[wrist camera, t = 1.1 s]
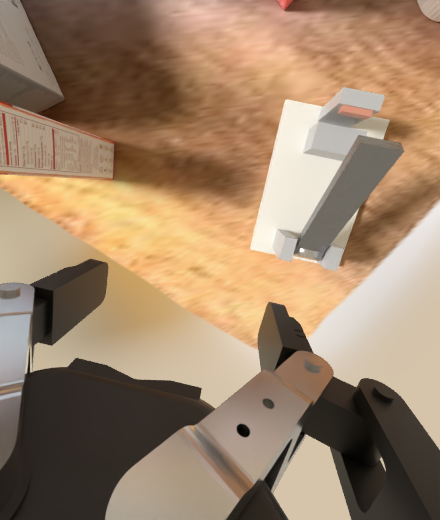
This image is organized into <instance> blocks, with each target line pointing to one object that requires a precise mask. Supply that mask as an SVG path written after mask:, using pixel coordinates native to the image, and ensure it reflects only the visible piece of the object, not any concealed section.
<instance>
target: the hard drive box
mask: <svg viewBox="0 0 440 520" xmlns="http://www.w3.org/2000/svg"><path fill="white" fill-rule="evenodd" d="M0 100H1V101H4V102H6V103H9V104H12V105H14V106H17V107H20V108H22V109H25V110H28V111H30V112H33V113H36V114H37V113H39V112H42V111H44V110H46V109H48V108H50V107H52V106H54V105H56V104H58V103H60V102H62V101H63V100H64V96H63V94H62V92H61V90H60V88H59V85H58V83H57V81H56V78H55V76H54V74H53V72H52V70H51V67H50V65H49V63H48V61H47V59H46V57H45V55H44V52H43V50H42V48H41V46H40V44H39V41H38V39H37V37H36V35H35V33H34V30H33V28H32V26H31V24H30V22H29V20H28V17H27V14H26V12H25V10H24V8H23V6H22V3H21V1H20V0H0Z"/></svg>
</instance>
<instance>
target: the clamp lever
mask: <svg viewBox="0 0 440 520" xmlns="http://www.w3.org/2000/svg"><path fill="white" fill-rule="evenodd" d="M403 152H404V150H403V147H402V145H401V143H398V142H393V141H388V140H383V139H378V138H373V137H367V136H362V135H358V136H357V138H356V140H355V142H354V143H353V145H352V147H351V148H350V150H349V152H348V154H347V155H346V157H345V159H344V160H343V162H342V164H341V165H340V167H339V169H338V171H337V172H336V174H335V176H334V177H333V179H332V181H331V182H330V184H329V186H328V188H327V189H326V191H325V193H324V194H323V196H322V198H321V199H320V201H319V203H318V205H317V206H316V208H315V210H314V211H313V213H312V215H311V216H310V218H309V220H308V222H307V223H306V225H305V227H304V228H303V230H302V232H301V233H300V235H299V237H298V240H297V243H296V247H295V250H294V254H293V256H296V257H301V258H305V259H310V260H315V261H320V260H321V258H322V256H323V253H324V252H325V250H326V249H327V248H328V247H329V245H330V244H331V243H332V242H333V240H334V239H335V238H336V237H337V235H338V234H339V233H340V231H341V230H342V229H343V228H344V226H345V225H346V224H347V223H348V221H349V220H350V219H351V218H352V216H353V215H354V214H355V213H356V211H357V210H358V209H359V207H360V206H361V205H362V204H363V202H364V201H365V200H366V199H367V197H368V196H369V195H370V194H371V192H372V191H373V190H374V189H375V187H376V186H377V185H378V184H379V182H380V181H381V180H382V178H383V177H384V176H385V175H386V173H387V172H388V171H389V170H390V168H391V167H392V166H393V165H394V163H395V162H396V161H397V160H398V158H399V157H400V156H401V155H402V153H403Z"/></svg>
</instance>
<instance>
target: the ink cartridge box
mask: <svg viewBox="0 0 440 520" xmlns="http://www.w3.org/2000/svg"><path fill="white" fill-rule="evenodd" d="M293 1H294V0H277V2H278V3H279V5H280V6H281V7H282V9H283V10H286V8H287V7H288V6H289V5H290V4H291V3H292V2H293Z"/></svg>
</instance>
